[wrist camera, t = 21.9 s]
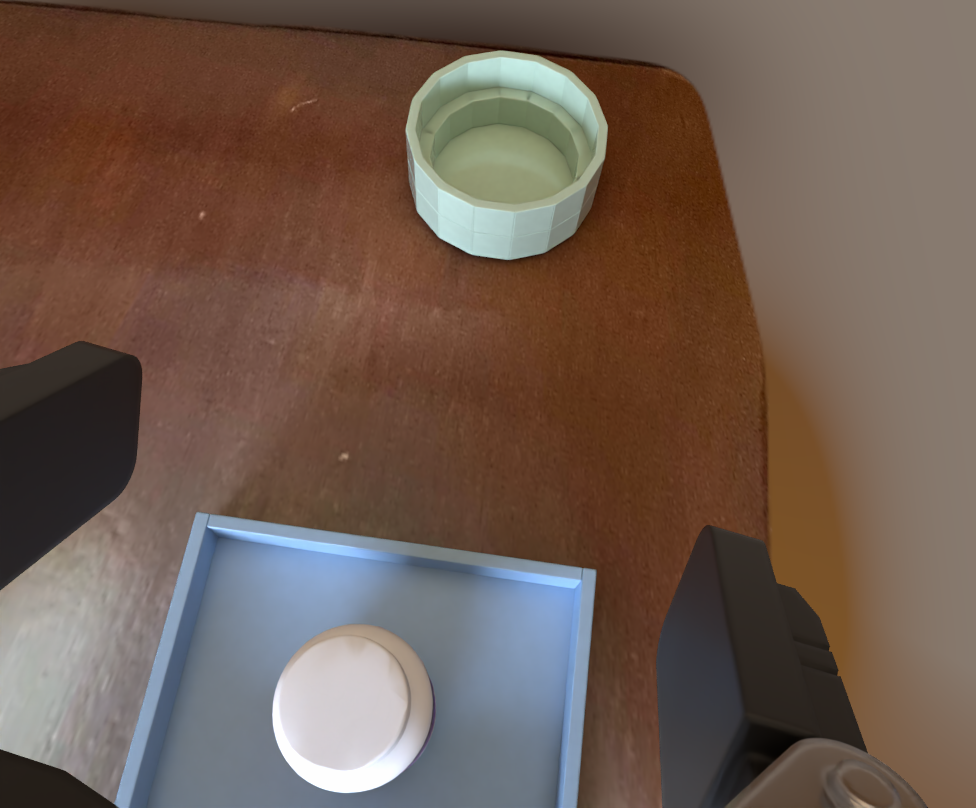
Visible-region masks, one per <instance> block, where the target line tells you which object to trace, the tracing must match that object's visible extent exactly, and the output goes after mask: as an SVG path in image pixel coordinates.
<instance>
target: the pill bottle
mask: <svg viewBox="0 0 976 808" xmlns="http://www.w3.org/2000/svg"><path fill="white" fill-rule="evenodd" d="M272 717H273V727H274V732H275V737H276V740H277V743H278V746H279V748H280V750H281V752H282V754H283V756H284V758H285V759H286V761H287V762H288V763H289V765H290V766H291V767H292V768H293V769H294V770H295V771H296V772H297V774H298V775H300V776H301V777H302V778H304V779H305V780H307V781H308V782H310V783H311V784H313V785H315V786H317V787H319V788H322V789H325V790H329V791H334V792H342V793H350V792H362V791H367V790H371V789H374V788H377V787H380V786H382V785H384V784H386V783H388V782H390V781H391V780H393V779H394V778H395V777H397V776H398V775H400V774H401V773H402V772H404V771H405V770H406V769H408V768H409V767H410V766H411V765H412V764H413V763H414V762H415V761H416V760H417V759H418V758H419V757H420V756H421V754H422V753H423V751H424V750H425V748H426V746H427V744H428V742H429V740H430V738H431V735H432V733H433V729H434V725H435V720H436V697H435V692H434V688H433V685H432V682H431V680H430V678H429V675H428V673H427V670H426V668H425V666H424V664H423V662H422V660H421V659H420V658H419V656H418V655H417V654H416V652H415V651H414V650H413V649H412V647H411V646H410V645H409V644H407V643H406V642H405V641H404V640H403V639H402V638H400V637H399V636H397V635H396V634H394V633H392V632H391V631H389V630H386V629H384V628H381V627H378V626H373V625H367V624H348V625H342V626H338V627H334V628H331V629H329V630H326V631H324V632H322V633H320V634H318V635H316V636H315V637H313V638H312V639H310V640H309V641H308V642H306V643H305V644H304V645H303V646H302V647H301V648H300V649H299V650H298V651H297V652H296V653H295V654H294V655H293V657H292V658H291V659H290V660H289V662H288V663H287V665H286V667H285V668H284V670H283V672H282V674H281V676H280V679H279V681H278V684H277V687H276V690H275V694H274V700H273V713H272Z"/></svg>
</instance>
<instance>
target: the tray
mask: <svg viewBox="0 0 976 808" xmlns="http://www.w3.org/2000/svg"><path fill="white" fill-rule="evenodd" d="M596 574H597V571H596V570H595V569H589V568H583V569H582V568H581V567H575V566H568V565H562V564H555V563H548V562H541V561H534V560H527V559H520V558H513V557H506V556H499V555H493V554H486V553H479V552H472V551H465V550H458V549H451V548H444V547H437V546H430V545H423V544H417V543H410V542H403V541H396V540H389V539H382V538H375V537H368V536H361V535H354V534H348V533H341V532H334V531H327V530H320V529H313V528H306V527H299V526H292V525H285V524H278V523H272V522H265V521H258V520H251V519H244V518H237V517H230V516H223V515H216V514H211V515H210V514H209V513H203V512H197V513H196V516H195V519H194V523H193V526H192V530H191V534H190V537H189V541H188V544H187V548H186V551H185V555H184V558H183V562H182V566H181V569H180V573H179V576H178V580H177V583H176V587H175V590H174V594H173V598H172V601H171V605H170V608H169V612H168V615H167V619H166V622H165V626H164V630H163V633H162V637H161V640H160V644H159V647H158V651H157V654H156V658H155V662H154V665H153V669H152V672H151V676H150V679H149V683H148V686H147V690H146V694H145V697H144V701H143V704H142V708H141V711H140V715H139V718H138V722H137V726H136V729H135V733H134V736H133V740H132V743H131V747H130V751H129V754H128V758H127V761H126V765H125V768H124V772H123V775H122V779H121V783H120V786H119V790H118V793H117V797H116V800H115V805H116V806H118V807H119V808H577V802H578V790H579V778H580V766H581V754H582V742H583V730H584V718H585V706H586V694H587V682H588V670H589V658H590V646H591V634H592V622H593V610H594V598H595V586H596ZM348 624H367V625H373V626H378V627H381V628H384V629H386V630H389V631H391V632H392V633H394V634H396V635H397V636H399V637H400V638H402V639H403V640H404V641H405V642H406V643H407V644H409V645H410V646H411V647H412V649H413V650H414V651H415V652H416V654H417V655H418V656H419V658H420V659H421V660H422V662H423V664H424V666H425V668H426V670H427V673H428V675H429V678H430V680H431V682H432V685H433V688H434V692H435V697H436V720H435V725H434V729H433V733H432V735H431V738H430V740H429V742H428V744H427V746H426V748H425V750H424V751H423V753H422V754H421V756H420V757H419V758H418V759H417V760H416V761H415V762H414V763H413V764H412V765H411V766H410V767H409V768H408V769H406V770H405V771H404V772H402V773H401V774H400V775H398V776H397V777H395V778H394V779H393V780H391V781H390V782H388V783H386V784H384V785H382V786H380V787H377V788H374V789H371V790H367V791H362V792H350V793H342V792H334V791H329V790H325V789H322V788H319V787H317V786H315V785H313V784H311V783H310V782H308V781H307V780H305V779H304V778H302V777H301V776H300V775H298V774H297V772H296V771H295V770H294V769H293V768H292V767H291V766H290V765H289V763H288V762H287V761H286V759H285V758H284V756H283V754H282V752H281V750H280V748H279V746H278V743H277V740H276V737H275V732H274V727H273V717H272V713H273V700H274V694H275V690H276V687H277V684H278V681H279V679H280V676H281V674H282V672H283V670H284V668H285V667H286V665H287V663H288V662H289V660H290V659H291V658H292V657H293V655H294V654H295V653H296V652H297V651H298V650H299V649H300V648H301V647H302V646H303V645H304V644H305V643H306V642H308V641H309V640H310V639H312V638H313V637H315V636H316V635H318V634H320V633H322V632H324V631H326V630H329V629H331V628H334V627H338V626H342V625H348Z"/></svg>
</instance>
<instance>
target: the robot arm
mask: <svg viewBox="0 0 976 808" xmlns="http://www.w3.org/2000/svg"><path fill="white" fill-rule="evenodd" d="M141 388H142V368H141V364H140V362H139V360H138V359H137V357H135V356H133V355H130V354H126V353H123V352H119V351H116V350H112V349H109V348H106V347H102V346H99V345H95V344H92V343H89V342H85V341H78V342H75V343H73V344H71V345H69V346H66V347H64V348H62V349H60V350H58V351H55V352H53V353H51V354H49V355H47V356H44V357H42V358H40V359H38V360H36V361H33V362H31V363H29V364H24V365H18V366H13V367H8V368H3V369H0V590H1V589H3V588H4V587H5V586H6V585H8V584H9V583H10V582H11V581H13V580H14V579H15V578H16V577H18V576H19V575H20V574H21V573H23V572H24V571H25V570H27V569H28V568H29V567H30V566H32V565H33V564H34V563H35V562H37V561H38V560H39V559H40V558H42V557H43V556H44V555H45V554H47V553H48V552H49V551H50V550H52V549H53V548H54V547H56V546H57V545H58V544H59V543H61V542H62V541H63V540H64V539H66V538H67V537H68V536H69V535H71V534H72V533H73V532H74V531H76V530H77V529H78V528H79V527H81V526H82V525H83V524H85V523H86V522H87V521H88V520H90V519H91V518H92V517H93V516H95V515H96V514H97V513H98V512H100V511H101V510H102V509H103V508H105V507H106V506H107V505H109V504H110V503H111V502H112V501H114V500H115V499H116V498H117V497H118V496H119V495H120V494H121V493H122V491H123V490H124V488H125V487H126V485H127V484H128V482H129V480H130V478H131V475H132V473H133V470H134V467H135V463H136V457H137V444H138V430H139V416H140V402H141ZM829 647H830V646H829V643H828V640H827V637H826V634H825V632H824V629H823V626H822V623H821V620H820V618H819V617H818V615H817V614H816V613H815V612H814V611H813V609H812V608H811V607H810V606H809V605H808V604H807V602H806V601H805V600H804V599H803V598H802V596H801V595H800V594H799V593H798V592H797V590H796V589H795V588H791V587H788V586H785V585H781V584H778V583H777V582H776V579H775V576H774V572H773V569H772V565H771V562H770V559H769V555H768V552H767V548H766V545H765V543H764V542H763V541H762V540H759V539H755V538H752V537H748V536H745V535H741V534H738V533H735V532H731V531H728V530H724V529H721V528H717V527H714V526H711V525H706V526H705V527H704V528H703V529H702V531H701V532H700V534H699V536H698V538H697V541H696V543H695V545H694V548H693V550H692V553H691V555H690V558H689V560H688V563H687V565H686V568H685V570H684V573H683V575H682V578H681V580H680V583H679V585H678V588H677V590H676V593H675V595H674V598H673V600H672V603H671V605H670V608H669V610H668V613H667V615H666V618H665V621H664V624H663V627H662V631H661V635H660V639H659V644H658V650H657V660H656V669H657V692H658V715H659V738H660V761H661V784H662V807H663V808H928V807H927V806H926V804H925V803H924V802H923V800H922V799H921V797H920V796H919V795H918V794H917V793H916V792H915V790H914V789H913V788H912V787H911V786H910V785H909V784H908V783H907V782H906V781H905V780H904V779H903V778H902V777H901V776H900V775H898V774H897V773H896V772H894V771H893V770H892V769H891V768H890V767H888V766H887V765H885V764H884V763H882V762H881V761H879V760H878V759H876V758H875V757H873V756H871V755H869V754H868V752H867V749H866V746H865V744H864V741H863V738H862V735H861V732H860V730H859V727H858V724H857V722H856V719H855V716H854V713H853V710H852V707H851V704H850V702H849V699H848V696H847V693H846V690H845V688H844V685H843V682H842V679H841V677H840V676H837V673H838V668H837V665H836V662H835V660H834V657H833V654H832V652H829ZM0 808H119V807H118V806H116V805H115V804H113V803H112V802H110V801H109V800H107V799H106V798H104V797H103V796H101V795H100V794H98V793H97V792H95V791H94V790H93V789H91V788H90V787H88V786H87V785H85V784H84V783H82V782H81V781H79V780H78V779H76V778H75V777H73V776H72V775H71V774H69V773H68V772H66V771H64V770H61V769H58V768H55V767H52V766H49V765H46V764H43V763H40V762H37V761H34V760H31V759H28V758H25V757H22V756H19V755H16V754H13V753H10V752H7V751H4V750H0Z"/></svg>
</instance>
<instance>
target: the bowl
mask: <svg viewBox="0 0 976 808" xmlns="http://www.w3.org/2000/svg"><path fill="white" fill-rule="evenodd" d="M607 133H608V125H607V122H606V120H605V117H604V115H603V112H602V110H601V107H600V105H599V102H598V100H597V97H596V96H595V94H594V93H593V92H592V91H591V90H590V89H589V88H588V87H587V86H586V85H585V84H584V83H583V82H582V81H581V80H580V79H579V78H578V77H577V76H576V75H575V74H574V73H573V72H571V71H569V70H567V69H565V68H563V67H561V66H559V65H557V64H555V63H553V62H551V61H548V60H546V59H544V58H542V57H540V56H538V55H531V54H524V53H517V52H509V51H502V50H501V51H493V52H487V53H481V54H475V55H469V56H464V57H462V58H460V59H458V60H456V61H455V62H453V63H451V64H449V65H447V66H445V67H444V68H442V69H440V70H438V71H436V72H434V73H433V74H432V75H431V76H430V78H429V79H428V80H427V81H426V83H425V84H424V85H423V86H422V87H421V89H420V90H419V91H418V92H417V94H416V95H415V96H414V97H413V99H412V102H411V107H410V111H409V116H408V120H407V125H406V144H407V157H408V172H409V184H410V187H411V191H412V195H413V198H414V202H415V206H416V209H417V211H418V213H419V215H420V216H421V217H422V218H423V219H424V220H425V222H426V223H427V224H428V225H429V226H430V228H431V229H432V230H433V231H434V232H435V233H436V235H437V236H438V237H439V238H441V239H442V240H444V241H446V242H448V243H450V244H452V245H454V246H456V247H458V248H459V249H461V250H463V251H465V252H467V253H469V254H472V255H476V256H484V257H491V258H498V259H505V260H512V259H517V258H522V257H527V256H532V255H537V254H542V253H545V252H547V251H548V250H550V249H552V248H553V247H555V246H556V245H558V244H559V243H561V242H562V241H564V240H566V239H567V238H569V237H570V236H572V235H573V234H574V233H575V232H576V231H577V229H578V228H579V226H580V224H581V223H582V221H583V220H584V218H585V217H586V215H587V214H588V212H589V211H590V209H591V207H592V203H593V200H594V196H595V192H596V189H597V185H598V181H599V178H600V174H601V170H602V167H603V163H604V160H605V154H606V144H607Z"/></svg>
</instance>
